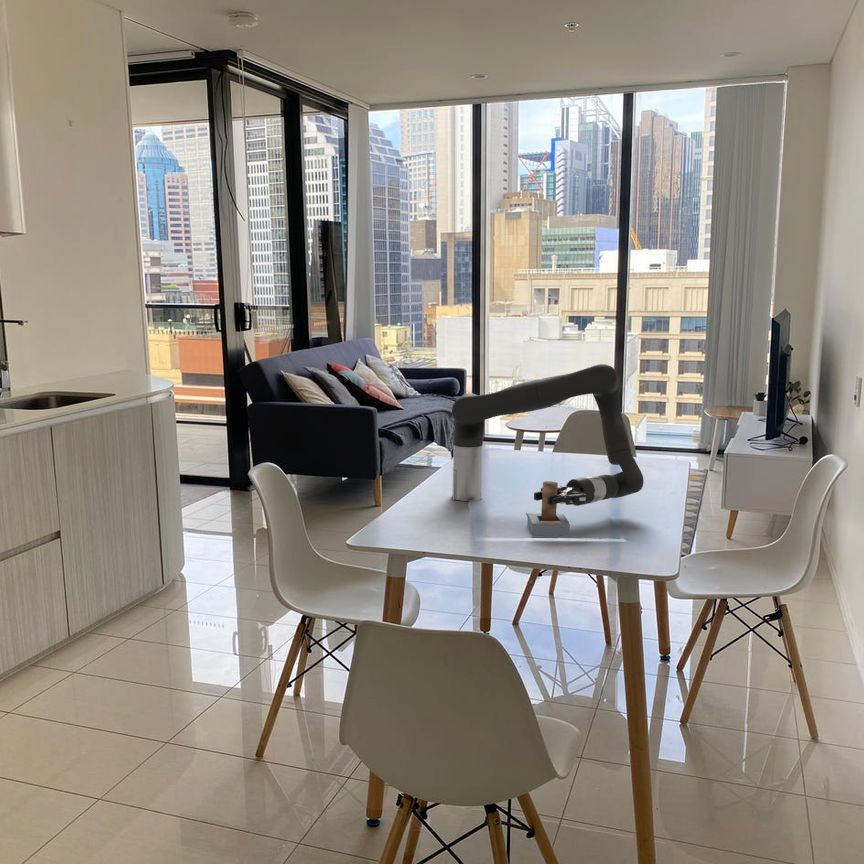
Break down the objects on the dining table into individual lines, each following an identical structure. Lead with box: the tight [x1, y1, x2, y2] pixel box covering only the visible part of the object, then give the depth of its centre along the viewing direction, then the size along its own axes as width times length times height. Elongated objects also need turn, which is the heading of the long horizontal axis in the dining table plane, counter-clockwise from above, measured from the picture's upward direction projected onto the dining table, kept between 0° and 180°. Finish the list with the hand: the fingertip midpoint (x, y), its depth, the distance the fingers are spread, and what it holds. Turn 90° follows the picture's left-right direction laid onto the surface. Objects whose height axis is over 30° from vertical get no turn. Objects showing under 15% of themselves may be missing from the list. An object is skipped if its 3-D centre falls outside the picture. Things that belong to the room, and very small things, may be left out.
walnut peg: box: [540, 480, 559, 521], centre depth 235 cm, size 4×4×14 cm
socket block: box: [527, 513, 571, 539], centre depth 236 cm, size 10×10×4 cm
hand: (541, 498), depth 233 cm, fingers open, 4 cm apart
